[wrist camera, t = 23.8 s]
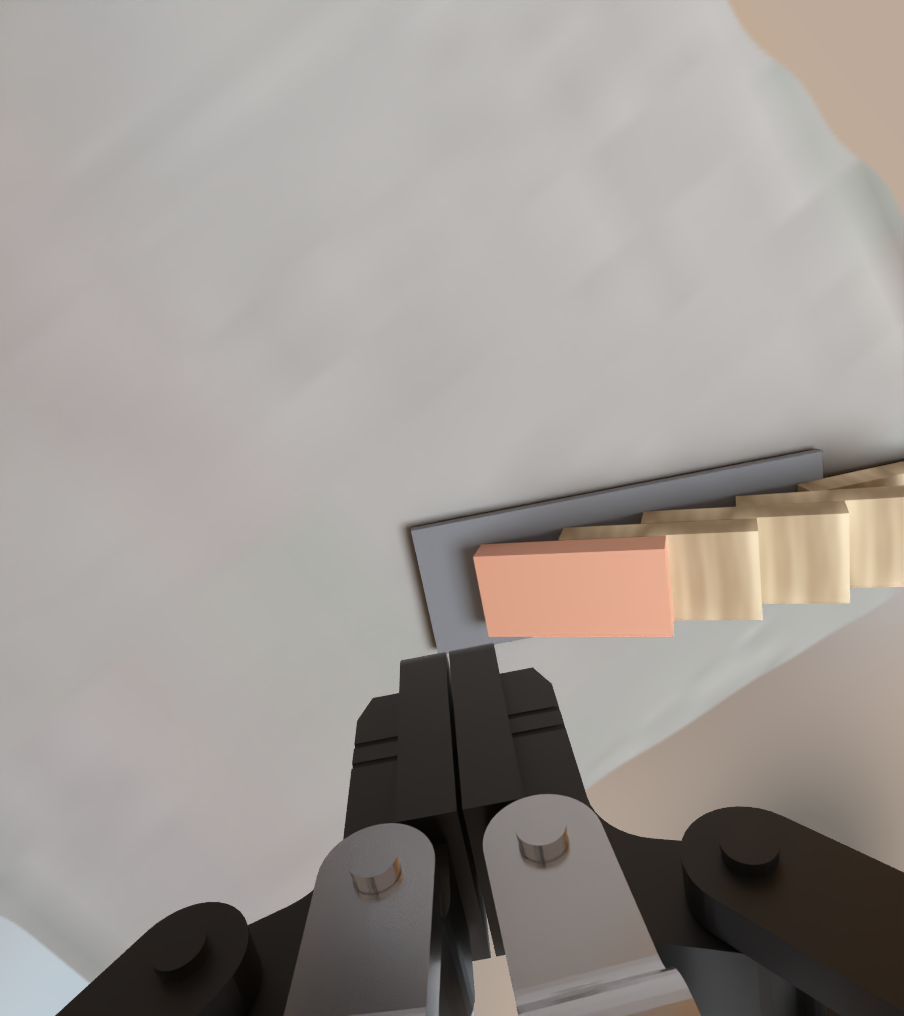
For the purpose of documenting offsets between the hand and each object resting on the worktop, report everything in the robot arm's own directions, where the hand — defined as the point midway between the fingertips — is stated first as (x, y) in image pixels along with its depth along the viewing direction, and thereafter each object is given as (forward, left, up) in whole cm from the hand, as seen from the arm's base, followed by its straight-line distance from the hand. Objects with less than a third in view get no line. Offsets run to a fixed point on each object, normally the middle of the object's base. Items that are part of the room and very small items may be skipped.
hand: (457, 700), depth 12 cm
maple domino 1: (+10, -9, -28) cm, 31 cm away
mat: (+13, -8, -29) cm, 33 cm away
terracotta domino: (+5, -11, -28) cm, 30 cm away
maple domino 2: (+14, -7, -28) cm, 32 cm away
